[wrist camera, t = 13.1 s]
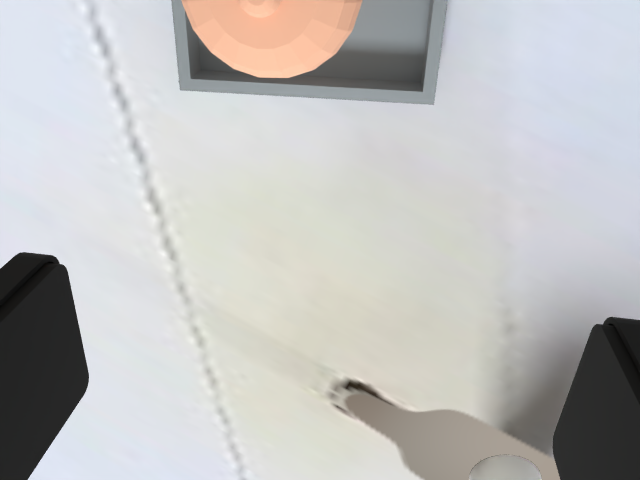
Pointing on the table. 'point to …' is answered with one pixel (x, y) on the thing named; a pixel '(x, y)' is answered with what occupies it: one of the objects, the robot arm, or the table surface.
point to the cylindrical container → (505, 469)
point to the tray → (338, 58)
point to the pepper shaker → (273, 32)
